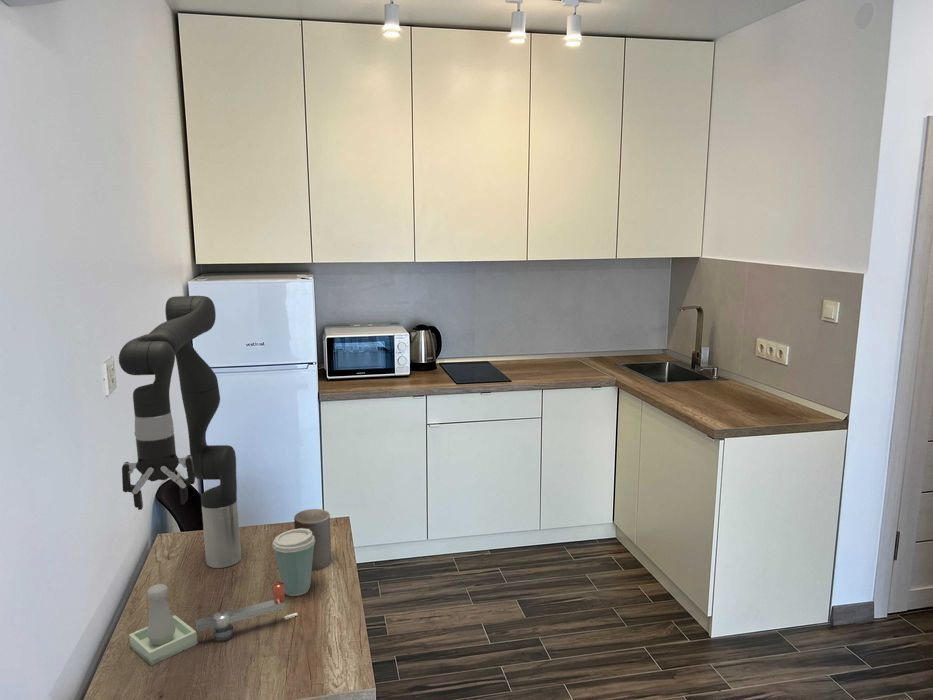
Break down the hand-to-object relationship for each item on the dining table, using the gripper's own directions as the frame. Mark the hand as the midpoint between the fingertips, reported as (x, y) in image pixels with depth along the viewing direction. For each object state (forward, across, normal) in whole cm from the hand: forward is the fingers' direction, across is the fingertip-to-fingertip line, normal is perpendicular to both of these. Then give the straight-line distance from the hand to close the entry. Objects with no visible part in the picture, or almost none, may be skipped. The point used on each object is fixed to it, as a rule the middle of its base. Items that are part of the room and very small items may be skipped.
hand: (161, 505), depth 152 cm
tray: (+32, +2, +1) cm, 32 cm away
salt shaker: (+31, +2, +1) cm, 31 cm away
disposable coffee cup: (+32, -28, -14) cm, 45 cm away
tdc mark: (+32, -26, -1) cm, 41 cm away
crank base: (+32, -10, +2) cm, 34 cm away
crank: (+30, -15, +1) cm, 33 cm away
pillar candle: (+32, -34, -28) cm, 54 cm away
